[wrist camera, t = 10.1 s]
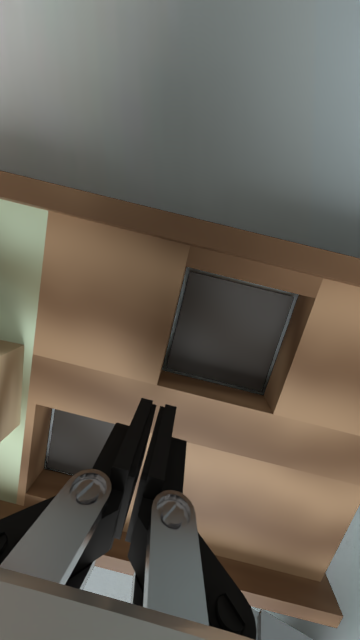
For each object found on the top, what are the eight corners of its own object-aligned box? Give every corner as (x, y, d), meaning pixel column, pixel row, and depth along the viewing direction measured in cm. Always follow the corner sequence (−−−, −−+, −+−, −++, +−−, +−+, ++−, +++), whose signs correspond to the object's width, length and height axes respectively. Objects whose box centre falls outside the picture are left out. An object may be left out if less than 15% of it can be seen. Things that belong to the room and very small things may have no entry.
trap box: (-56, 168, 14) (-192, 116, 9) (439, 289, 14) (575, 303, 9) (-62, 464, 18) (-154, 537, 13) (310, 559, 18) (352, 668, 13)
